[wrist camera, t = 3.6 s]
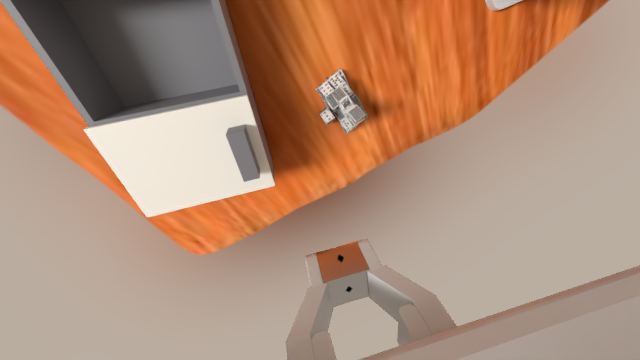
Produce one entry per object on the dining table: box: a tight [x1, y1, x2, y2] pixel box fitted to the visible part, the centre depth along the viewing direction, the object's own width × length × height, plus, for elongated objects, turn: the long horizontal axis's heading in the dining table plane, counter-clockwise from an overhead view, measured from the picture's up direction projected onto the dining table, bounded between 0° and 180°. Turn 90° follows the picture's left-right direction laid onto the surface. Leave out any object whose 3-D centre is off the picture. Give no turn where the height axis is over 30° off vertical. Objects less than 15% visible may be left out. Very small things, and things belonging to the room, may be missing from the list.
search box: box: [0, 0, 275, 182], centre depth 24 cm, size 14×20×6 cm
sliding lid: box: [83, 95, 275, 217], centre depth 23 cm, size 14×10×2 cm
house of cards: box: [315, 69, 368, 134], centre depth 28 cm, size 9×9×8 cm
